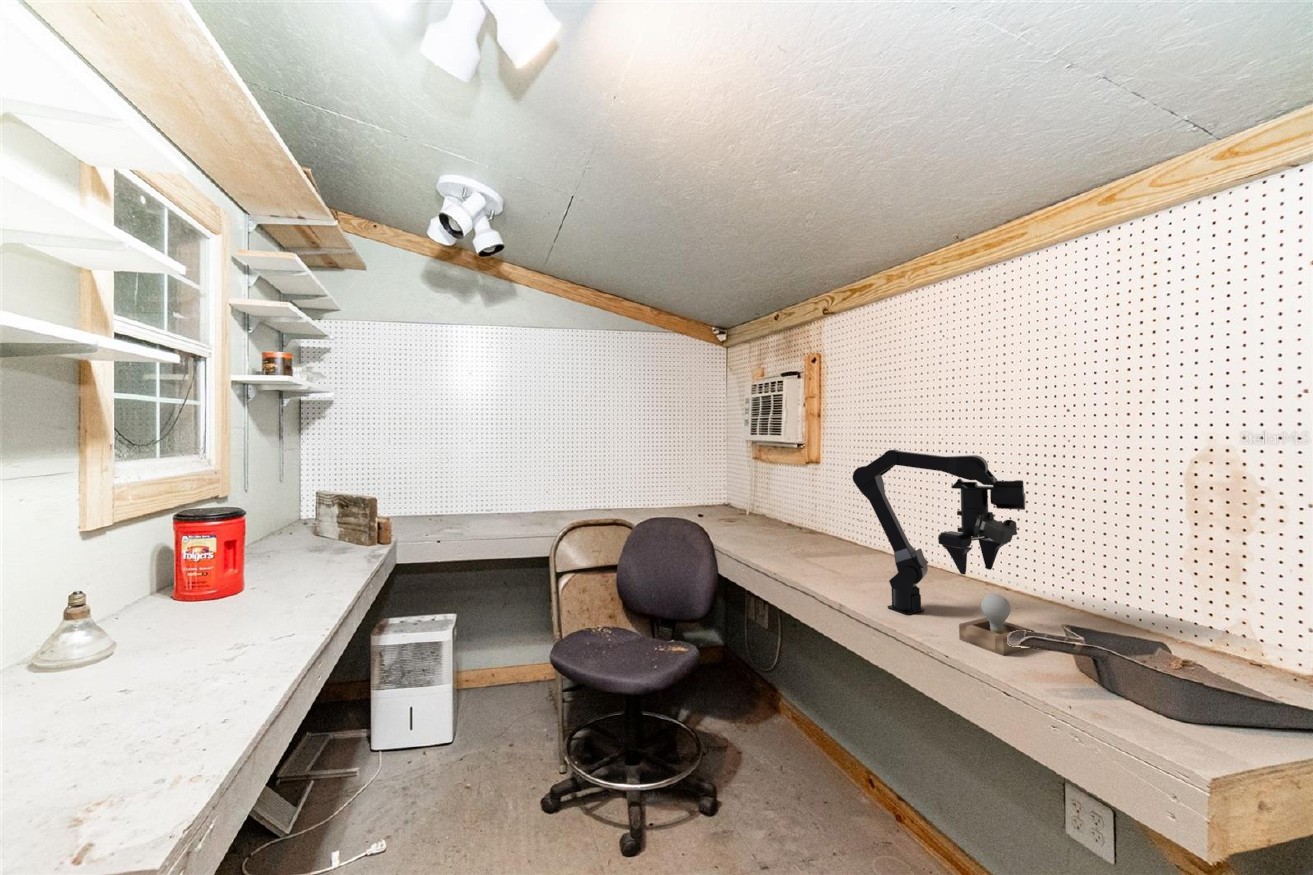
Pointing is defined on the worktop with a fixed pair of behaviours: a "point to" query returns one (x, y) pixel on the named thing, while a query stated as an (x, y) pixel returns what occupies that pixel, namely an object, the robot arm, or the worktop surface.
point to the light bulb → (995, 611)
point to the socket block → (989, 636)
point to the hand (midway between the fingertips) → (976, 571)
